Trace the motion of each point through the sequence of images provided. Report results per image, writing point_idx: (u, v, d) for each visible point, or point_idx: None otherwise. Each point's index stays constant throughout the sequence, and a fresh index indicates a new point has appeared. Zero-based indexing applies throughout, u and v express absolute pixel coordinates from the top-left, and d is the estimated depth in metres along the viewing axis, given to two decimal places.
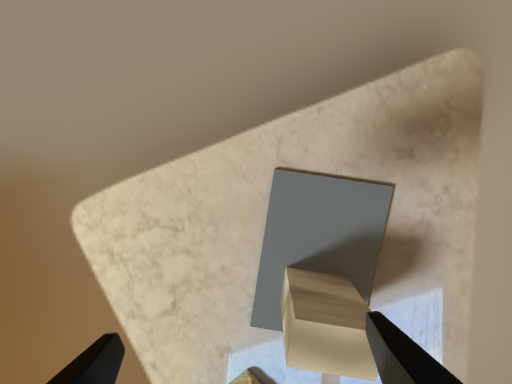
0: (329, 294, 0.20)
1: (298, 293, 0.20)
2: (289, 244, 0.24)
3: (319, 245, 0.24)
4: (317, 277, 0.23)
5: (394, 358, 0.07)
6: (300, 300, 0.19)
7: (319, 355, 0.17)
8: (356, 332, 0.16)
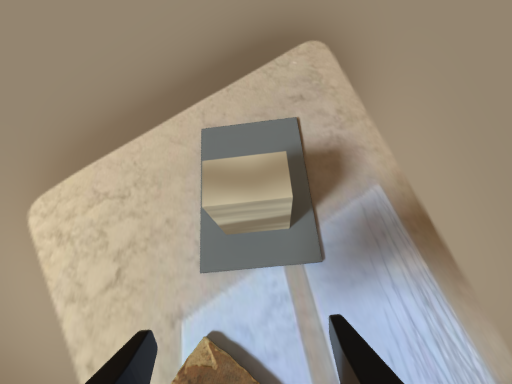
0: None
1: None
2: None
3: None
4: None
5: (347, 361, 0.07)
6: None
7: (231, 187, 0.17)
8: (259, 157, 0.18)
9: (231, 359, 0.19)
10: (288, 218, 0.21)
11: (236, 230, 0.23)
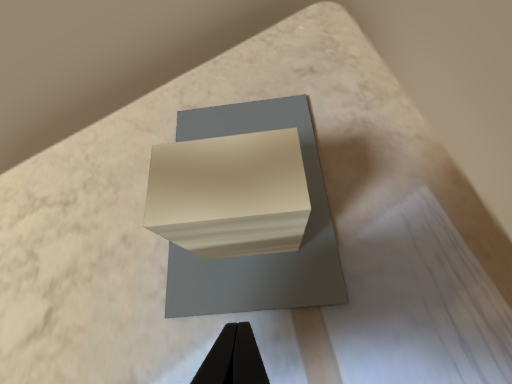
0: None
1: None
2: None
3: None
4: None
5: (233, 369, 0.07)
6: None
7: (198, 190, 0.09)
8: (249, 138, 0.10)
9: None
10: (298, 239, 0.13)
11: (219, 254, 0.15)
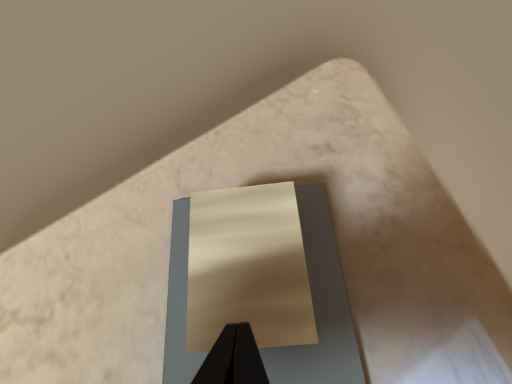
0: None
1: None
2: None
3: None
4: None
5: (233, 369, 0.07)
6: None
7: None
8: None
9: None
10: (303, 266, 0.12)
11: (210, 321, 0.12)
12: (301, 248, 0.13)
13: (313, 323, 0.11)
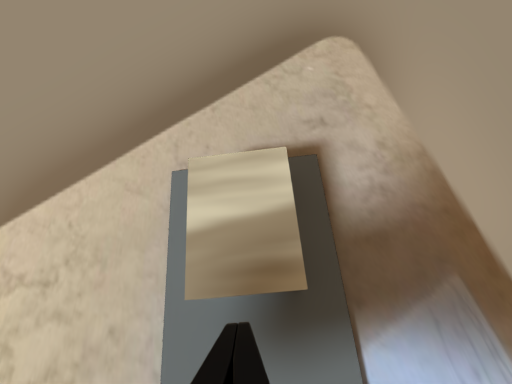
0: None
1: None
2: None
3: None
4: None
5: (233, 369, 0.07)
6: None
7: None
8: None
9: None
10: (294, 222, 0.13)
11: (207, 272, 0.13)
12: (293, 206, 0.14)
13: (303, 272, 0.12)
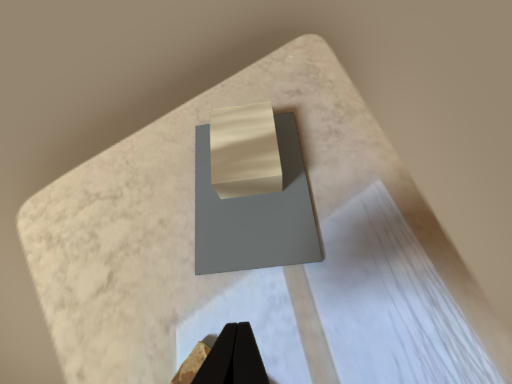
0: None
1: None
2: None
3: None
4: None
5: (233, 369, 0.07)
6: None
7: None
8: None
9: None
10: (275, 142, 0.22)
11: (224, 169, 0.21)
12: (274, 133, 0.22)
13: (279, 166, 0.21)
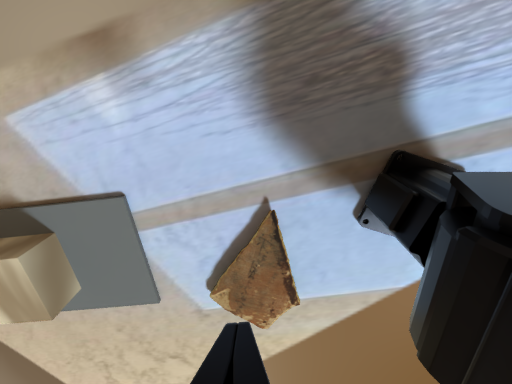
0: None
1: None
2: None
3: None
4: None
5: (233, 369, 0.07)
6: None
7: None
8: None
9: (222, 277, 0.22)
10: None
11: (32, 310, 0.20)
12: None
13: (7, 260, 0.18)
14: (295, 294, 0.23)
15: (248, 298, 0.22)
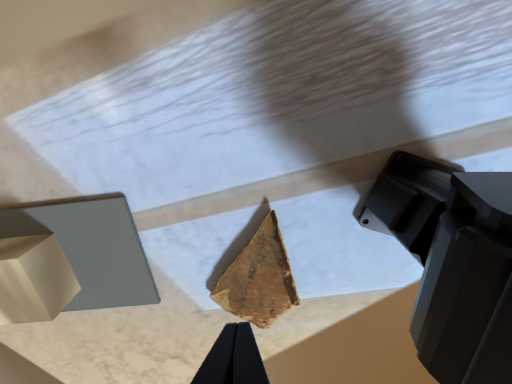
0: None
1: None
2: None
3: None
4: None
5: (233, 369, 0.07)
6: None
7: None
8: None
9: (222, 278, 0.22)
10: None
11: (31, 310, 0.20)
12: None
13: (7, 260, 0.18)
14: (295, 294, 0.23)
15: (248, 298, 0.22)
